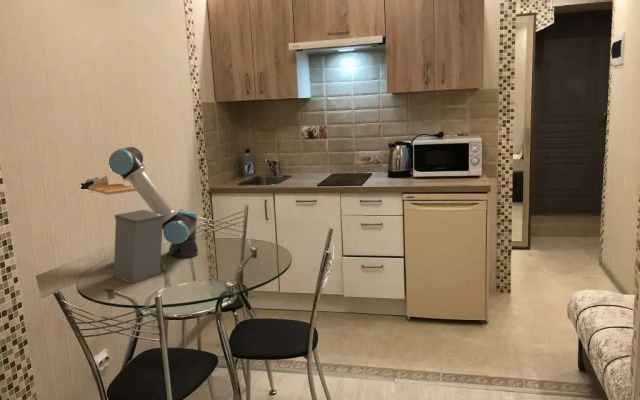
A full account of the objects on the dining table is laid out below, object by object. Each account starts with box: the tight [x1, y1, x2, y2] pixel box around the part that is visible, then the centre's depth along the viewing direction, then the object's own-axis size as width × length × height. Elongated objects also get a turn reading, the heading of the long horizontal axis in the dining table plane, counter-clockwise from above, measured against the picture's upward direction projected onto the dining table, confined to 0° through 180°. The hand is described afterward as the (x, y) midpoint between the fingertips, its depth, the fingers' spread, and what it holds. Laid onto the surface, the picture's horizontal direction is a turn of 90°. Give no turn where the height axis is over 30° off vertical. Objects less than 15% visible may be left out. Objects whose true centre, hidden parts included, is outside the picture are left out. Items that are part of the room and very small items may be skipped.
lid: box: [85, 179, 137, 196], centre depth 235 cm, size 22×17×2 cm
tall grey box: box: [113, 209, 164, 284], centre depth 230 cm, size 13×17×28 cm
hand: (102, 179), depth 236 cm, fingers closed on lid, 4 cm apart
